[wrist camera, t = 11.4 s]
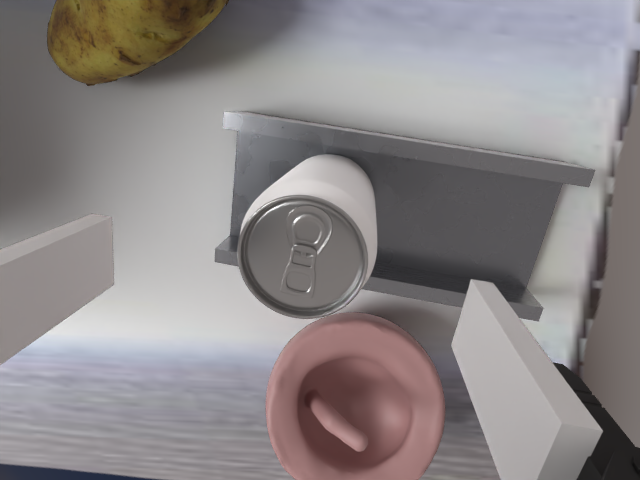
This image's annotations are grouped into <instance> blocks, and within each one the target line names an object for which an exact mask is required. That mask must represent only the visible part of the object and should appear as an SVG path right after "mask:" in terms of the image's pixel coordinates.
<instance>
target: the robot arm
mask: <svg viewBox="0 0 640 480" xmlns="http://www.w3.org/2000/svg"><path fill="white" fill-rule="evenodd" d="M113 285H114V263H113V235H112V217H109V216H103V215H97V214H90V215H87V216H84V217H82V218H79V219H77V220H74V221H72V222H69V223H66V224H64V225H61V226H59V227H56V228H54V229H51V230H49V231H46V232H43V233H41V234H38V235H36V236H33V237H31V238H28V239H26V240H23V241H20V242H18V243H15V244H13V245H10V246H8V247H5V248H3V249H0V365H1V364H3V363H4V362H6V361H7V360H8V359H10V358H11V357H13V356H14V355H15V354H17V353H18V352H20V351H21V350H22V349H24V348H25V347H27V346H28V345H29V344H31V343H32V342H34V341H35V340H36V339H38V338H39V337H41V336H42V335H44V334H45V333H46V332H48V331H49V330H51V329H52V328H53V327H55V326H56V325H58V324H59V323H60V322H62V321H63V320H65V319H66V318H67V317H69V316H70V315H72V314H73V313H75V312H76V311H77V310H79V309H80V308H82V307H83V306H84V305H86V304H87V303H89V302H90V301H91V300H93V299H94V298H96V297H97V296H98V295H100V294H101V293H103V292H104V291H105V290H107V289H108V288H110V287H111V286H113ZM451 347H452V349H453V352H454V355H455V357H456V360H457V363H458V366H459V368H460V371H461V374H462V376H463V379H464V382H465V384H466V387H467V390H468V393H469V395H470V398H471V401H472V403H473V406H474V409H475V411H476V414H477V417H478V420H479V422H480V425H481V428H482V430H483V433H484V436H485V438H486V441H487V444H488V447H489V449H490V452H491V455H492V457H493V460H494V463H495V465H496V468H497V471H498V473H499V476H500V479H501V480H640V448H638V447H635V446H634V444H633V443H632V442H631V441H630V439H629V438H628V437H627V436H626V434H625V433H624V432H623V431H622V430H621V428H620V427H619V426H618V424H617V423H616V422H615V421H614V420H613V418H612V417H611V416H610V415H609V413H608V412H607V411H606V410H605V408H602V407H601V403H600V402H599V401H598V400H597V398H596V397H595V396H594V395H592V392H591V391H590V390H589V388H588V387H587V386H586V385H585V383H584V382H583V381H582V380H581V378H579V377H578V376H577V375H576V374H574V373H573V372H572V371H570V370H569V369H568V368H567V367H565V366H564V365H563V364H558V363H552V362H551V360H550V359H549V357H548V356H547V355H546V353H545V352H544V351H543V349H542V348H541V347H540V345H539V344H538V343H537V341H536V340H535V339H534V337H533V336H532V335H531V333H530V332H529V331H528V329H527V328H526V327H525V325H524V324H523V322H522V321H521V320H520V318H519V317H518V316H517V314H516V313H515V312H514V310H513V309H512V308H511V306H510V305H509V304H508V302H507V301H506V300H505V298H504V297H503V296H502V294H501V293H500V292H499V290H498V289H497V287H496V286H495V285H494V283H491V282H485V281H479V280H473V279H471V281H470V284H469V288H468V291H467V294H466V298H465V301H464V304H463V308H462V311H461V314H460V318H459V321H458V324H457V328H456V331H455V334H454V338H453V341H452V344H451Z"/></svg>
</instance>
